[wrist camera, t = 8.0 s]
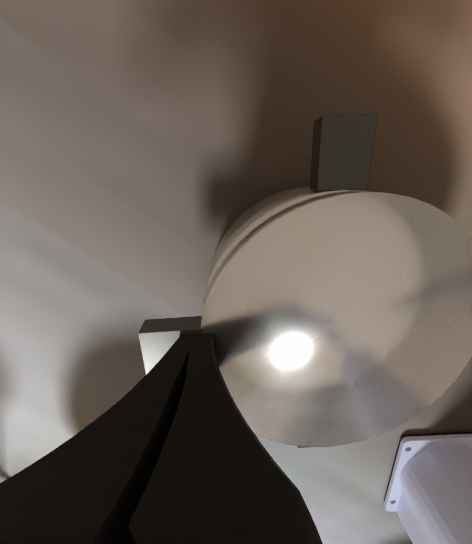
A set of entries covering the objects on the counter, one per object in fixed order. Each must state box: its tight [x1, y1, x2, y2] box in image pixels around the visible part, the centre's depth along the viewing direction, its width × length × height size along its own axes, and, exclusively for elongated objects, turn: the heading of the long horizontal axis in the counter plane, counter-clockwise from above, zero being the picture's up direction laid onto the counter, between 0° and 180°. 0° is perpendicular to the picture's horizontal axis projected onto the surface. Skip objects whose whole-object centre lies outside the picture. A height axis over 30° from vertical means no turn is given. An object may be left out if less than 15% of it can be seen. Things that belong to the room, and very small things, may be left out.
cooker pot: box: [203, 114, 377, 448], centre depth 14 cm, size 17×12×5 cm
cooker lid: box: [138, 191, 472, 447], centre depth 11 cm, size 12×14×1 cm
